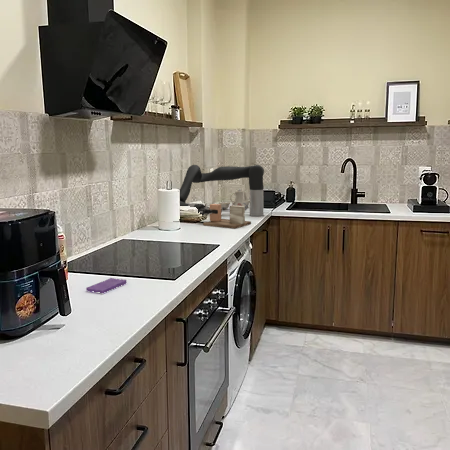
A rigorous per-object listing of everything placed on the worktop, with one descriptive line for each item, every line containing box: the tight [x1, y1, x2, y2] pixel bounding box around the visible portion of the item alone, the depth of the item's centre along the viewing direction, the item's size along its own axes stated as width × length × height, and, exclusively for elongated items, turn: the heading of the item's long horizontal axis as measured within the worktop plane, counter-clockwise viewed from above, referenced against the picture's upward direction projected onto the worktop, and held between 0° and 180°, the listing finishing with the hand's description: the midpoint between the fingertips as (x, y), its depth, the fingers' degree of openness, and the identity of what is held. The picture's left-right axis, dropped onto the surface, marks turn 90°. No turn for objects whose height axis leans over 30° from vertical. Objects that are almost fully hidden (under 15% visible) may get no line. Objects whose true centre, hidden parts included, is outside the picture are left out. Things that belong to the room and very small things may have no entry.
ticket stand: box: [203, 204, 252, 230], centre depth 273 cm, size 18×22×12 cm
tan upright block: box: [209, 203, 222, 221], centre depth 277 cm, size 4×6×10 cm, turn 56°
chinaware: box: [218, 187, 250, 211], centre depth 335 cm, size 28×17×17 cm, turn 127°
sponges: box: [85, 277, 128, 294], centre depth 157 cm, size 7×13×2 cm, turn 154°
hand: (219, 211), depth 275 cm, fingers closed on tan upright block, 3 cm apart
